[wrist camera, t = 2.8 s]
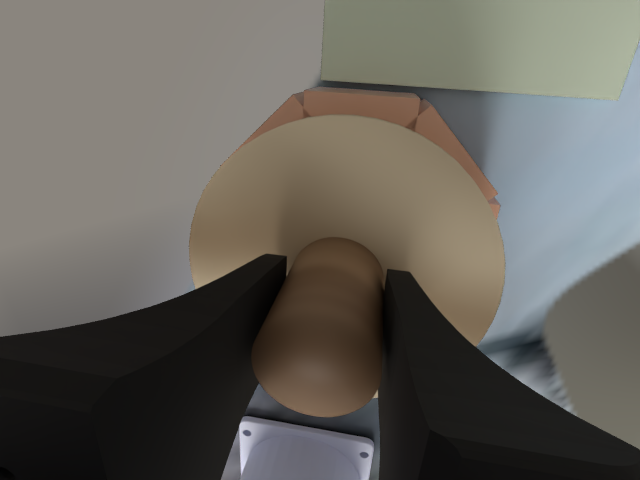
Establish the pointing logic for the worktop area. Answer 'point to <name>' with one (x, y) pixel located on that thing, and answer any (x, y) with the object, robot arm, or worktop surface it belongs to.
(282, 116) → the dish
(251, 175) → the lid
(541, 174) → the worktop surface
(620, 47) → the mat
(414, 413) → the robot arm
